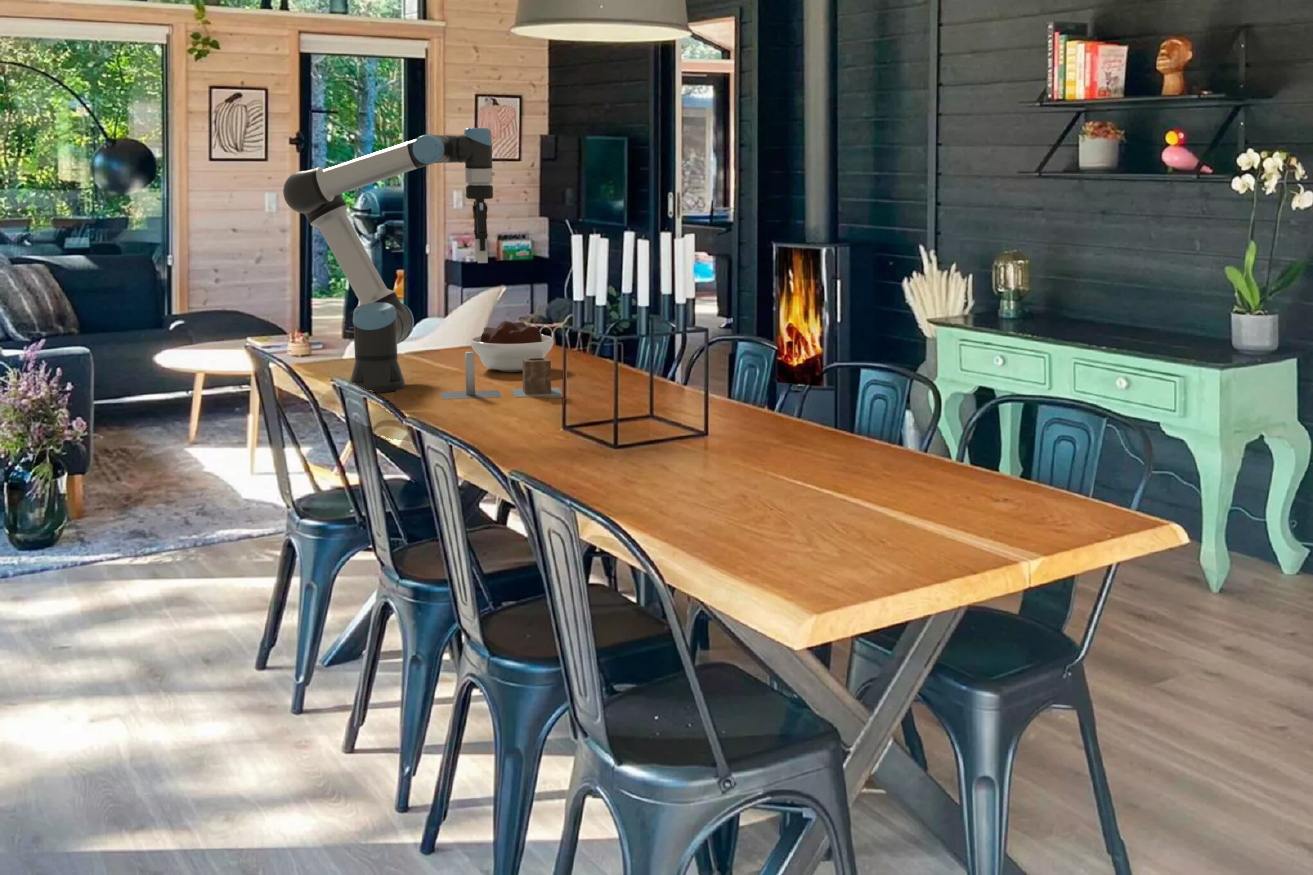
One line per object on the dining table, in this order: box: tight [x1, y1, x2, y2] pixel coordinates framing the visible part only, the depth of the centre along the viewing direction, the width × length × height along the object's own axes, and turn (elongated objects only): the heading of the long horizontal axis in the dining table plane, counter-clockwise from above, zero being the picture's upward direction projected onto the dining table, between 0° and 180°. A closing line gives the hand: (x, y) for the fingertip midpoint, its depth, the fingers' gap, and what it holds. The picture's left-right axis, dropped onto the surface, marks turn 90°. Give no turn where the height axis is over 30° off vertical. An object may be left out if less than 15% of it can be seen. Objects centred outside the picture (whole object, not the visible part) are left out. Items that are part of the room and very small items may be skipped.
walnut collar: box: [522, 356, 552, 395], centre depth 385 cm, size 7×7×9 cm
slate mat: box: [511, 387, 563, 399], centre depth 386 cm, size 13×13×1 cm
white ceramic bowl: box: [470, 320, 554, 373], centre depth 427 cm, size 25×25×15 cm
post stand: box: [440, 351, 503, 400], centre depth 381 cm, size 16×12×12 cm
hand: (481, 261), depth 398 cm, fingers open, 13 cm apart
